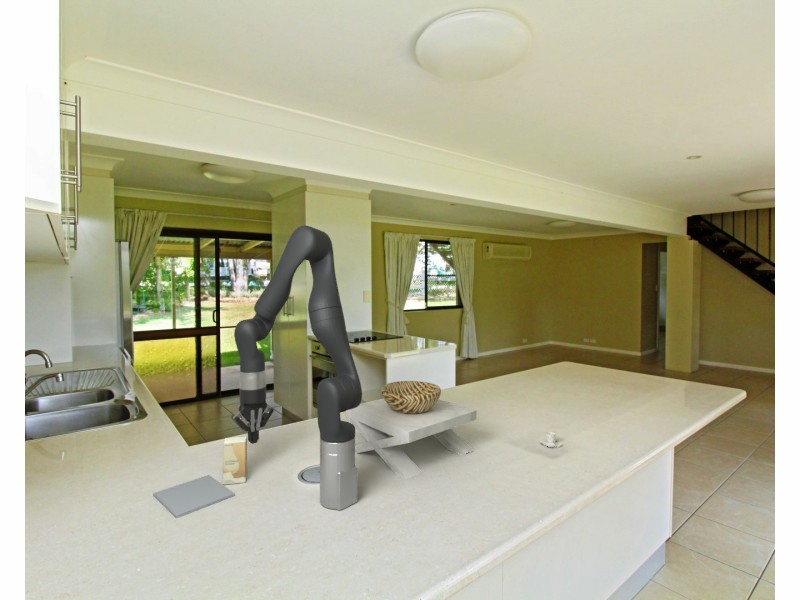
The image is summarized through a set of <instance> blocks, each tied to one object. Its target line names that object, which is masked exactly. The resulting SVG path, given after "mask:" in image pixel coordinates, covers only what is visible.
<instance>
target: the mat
mask: <svg viewBox="0 0 800 600" xmlns="http://www.w3.org/2000/svg"><path fill="white" fill-rule="evenodd" d="M152 495H153V497H154V498H155V499H156V500H157V501H159V503H160V504H161V505H162V506H163V507H164V508H165V509H166V510H168V512H169V513H170V514H171V515H172V516H173V517H174V518H175V519H178V518H180V517H183V516H186V515H188V514H191V513H194V512H196V511H199V510H201V509H204V508H207V507H209V506H211V505H215V504H217V503H220V502H222V501H225V500H227V499H231V498H233V497H235V496H236V494H235V492H233V491H232V490H231V489H229V488H228V487H226V486H225V485H223V483H221V482H219V481H218V480H217V479H215V478H214V477H213V476H211V475H210V474H207V475H204V476H201V477H199V478H195V479H192V480H189V481H186V482H183V483H180V484H176V485H174V486H171V487H167V488H165V489H162V490H159V491H157V492H153V493H152Z"/></svg>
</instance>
